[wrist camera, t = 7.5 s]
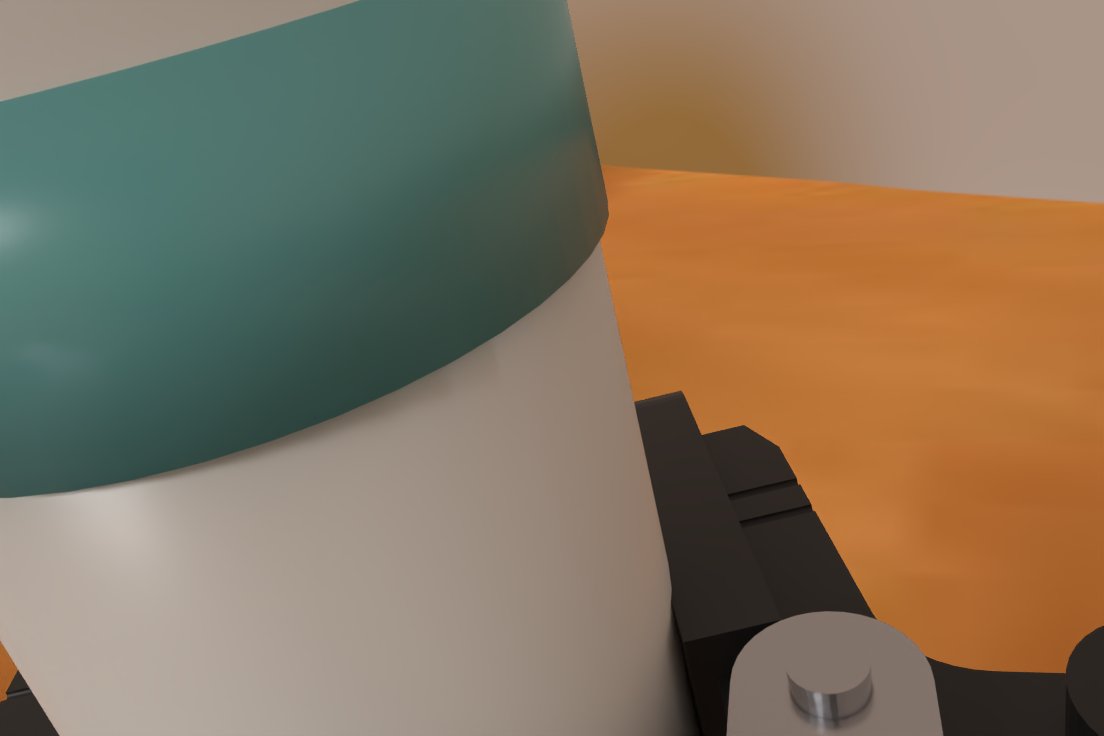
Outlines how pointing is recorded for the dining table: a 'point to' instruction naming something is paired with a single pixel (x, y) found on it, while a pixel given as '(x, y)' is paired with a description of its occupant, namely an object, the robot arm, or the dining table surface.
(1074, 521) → the dining table surface
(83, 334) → the white bottle teal band
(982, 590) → the dining table surface
